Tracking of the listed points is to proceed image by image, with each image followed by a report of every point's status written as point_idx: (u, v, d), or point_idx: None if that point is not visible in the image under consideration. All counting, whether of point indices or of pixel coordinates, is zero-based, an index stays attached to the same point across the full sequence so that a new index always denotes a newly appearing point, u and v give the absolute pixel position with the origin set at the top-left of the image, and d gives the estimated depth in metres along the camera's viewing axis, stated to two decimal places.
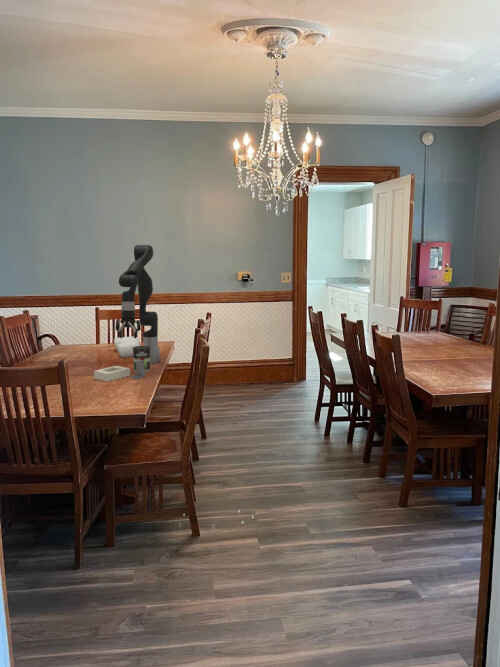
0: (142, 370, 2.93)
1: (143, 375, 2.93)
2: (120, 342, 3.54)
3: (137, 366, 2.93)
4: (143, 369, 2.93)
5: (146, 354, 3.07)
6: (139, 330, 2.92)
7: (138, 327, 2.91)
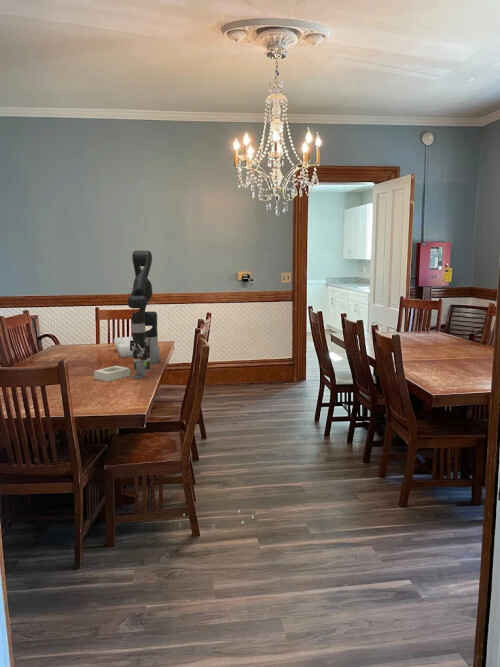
0: (142, 370, 2.93)
1: (143, 375, 2.93)
2: (120, 342, 3.54)
3: (137, 366, 2.93)
4: (143, 369, 2.93)
5: None
6: (147, 352, 2.88)
7: (145, 349, 2.87)
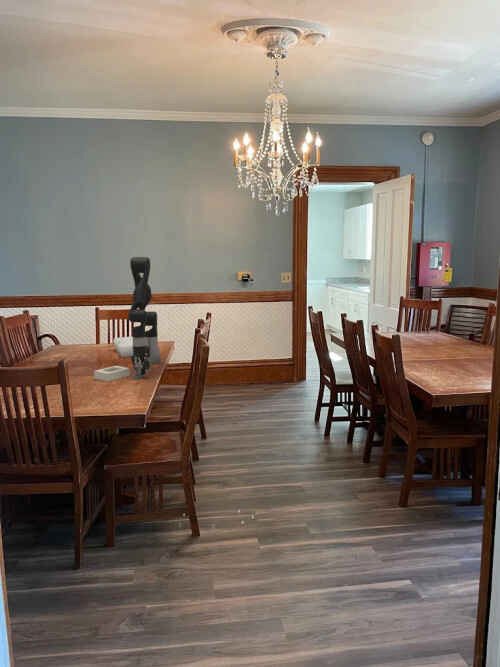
0: None
1: (143, 375, 2.93)
2: (120, 342, 3.54)
3: (137, 366, 2.93)
4: None
5: (146, 354, 3.07)
6: (146, 367, 2.91)
7: (144, 365, 2.89)
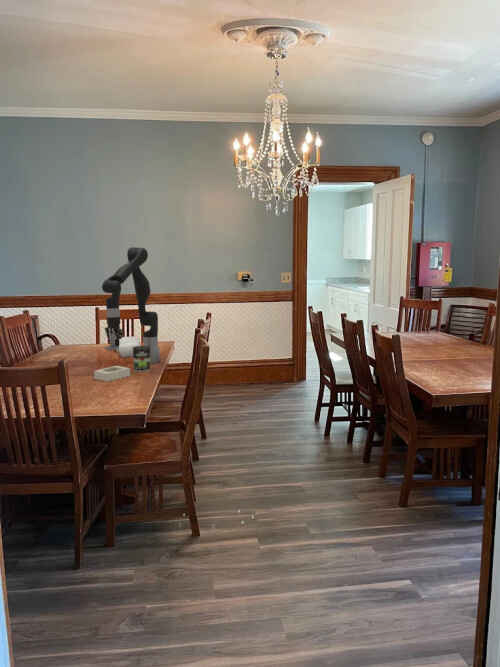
0: None
1: (117, 346, 2.92)
2: (120, 342, 3.53)
3: (111, 337, 2.92)
4: None
5: (146, 354, 3.07)
6: (120, 338, 2.90)
7: (118, 336, 2.88)
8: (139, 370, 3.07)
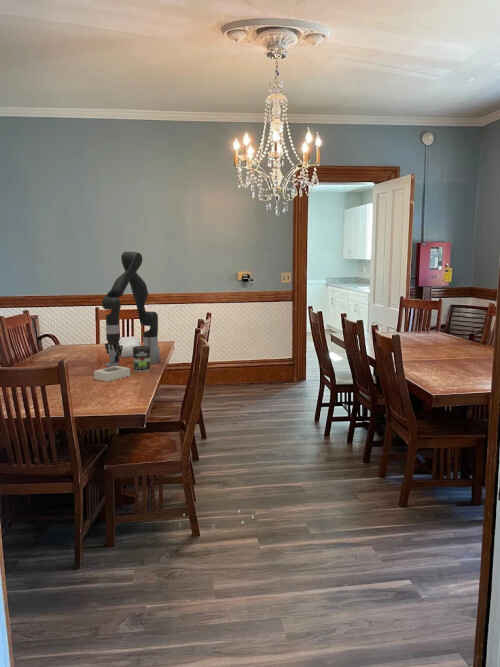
0: None
1: (117, 363, 2.94)
2: (120, 342, 3.53)
3: (111, 354, 2.94)
4: None
5: (146, 354, 3.07)
6: None
7: (117, 352, 2.90)
8: (139, 370, 3.07)
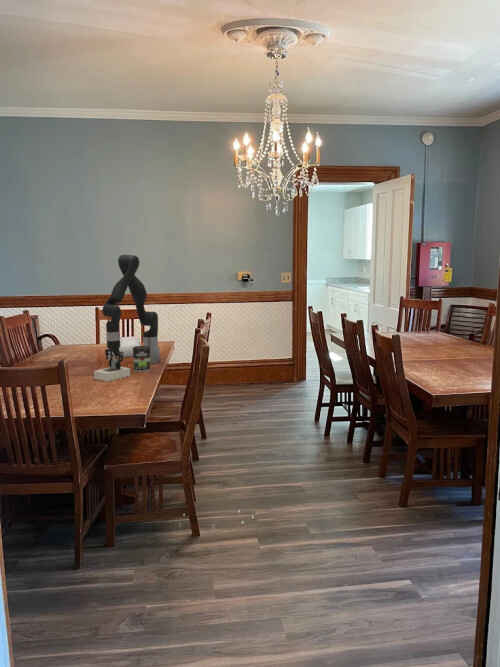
0: (116, 368, 2.94)
1: None
2: (120, 342, 3.53)
3: (112, 364, 2.95)
4: None
5: (146, 354, 3.07)
6: (121, 361, 2.91)
7: (119, 359, 2.90)
8: (139, 370, 3.07)
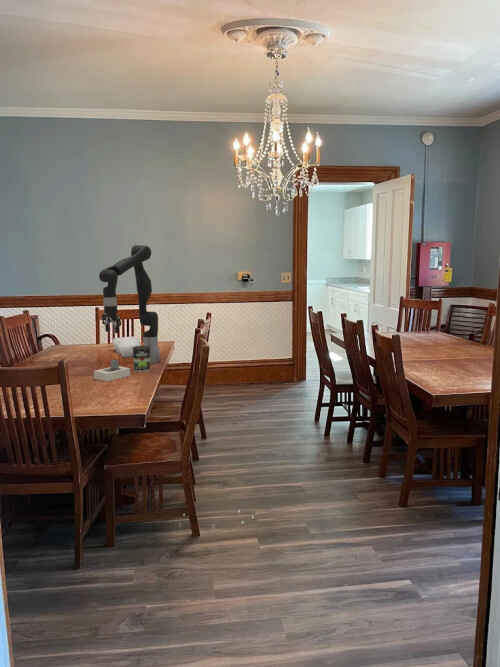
0: (116, 369, 2.94)
1: None
2: (120, 342, 3.53)
3: (111, 365, 2.95)
4: (117, 368, 2.95)
5: (146, 354, 3.07)
6: (119, 325, 2.93)
7: (117, 323, 2.92)
8: (139, 370, 3.07)
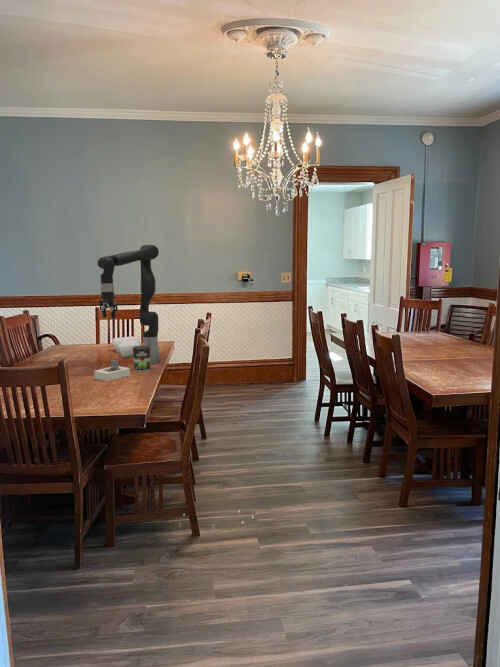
0: (116, 369, 2.94)
1: None
2: (120, 342, 3.53)
3: (111, 365, 2.95)
4: (117, 368, 2.95)
5: (146, 354, 3.07)
6: (115, 311, 3.03)
7: (113, 308, 3.01)
8: (139, 370, 3.07)
